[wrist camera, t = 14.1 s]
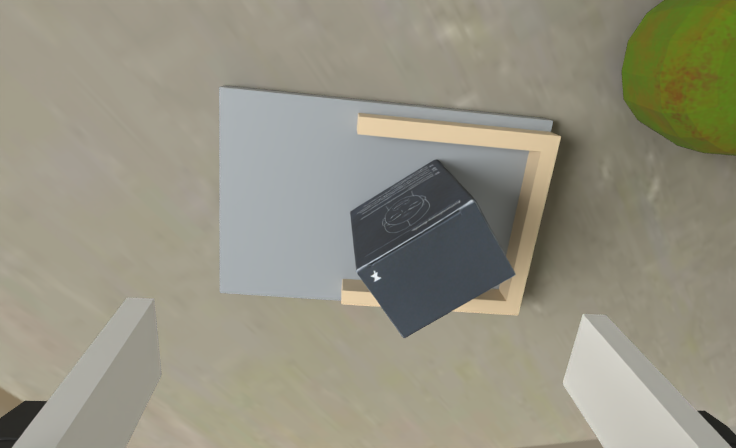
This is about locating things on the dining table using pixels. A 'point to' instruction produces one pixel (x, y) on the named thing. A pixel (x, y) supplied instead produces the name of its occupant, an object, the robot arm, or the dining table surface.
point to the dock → (363, 186)
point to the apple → (685, 73)
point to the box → (425, 248)
